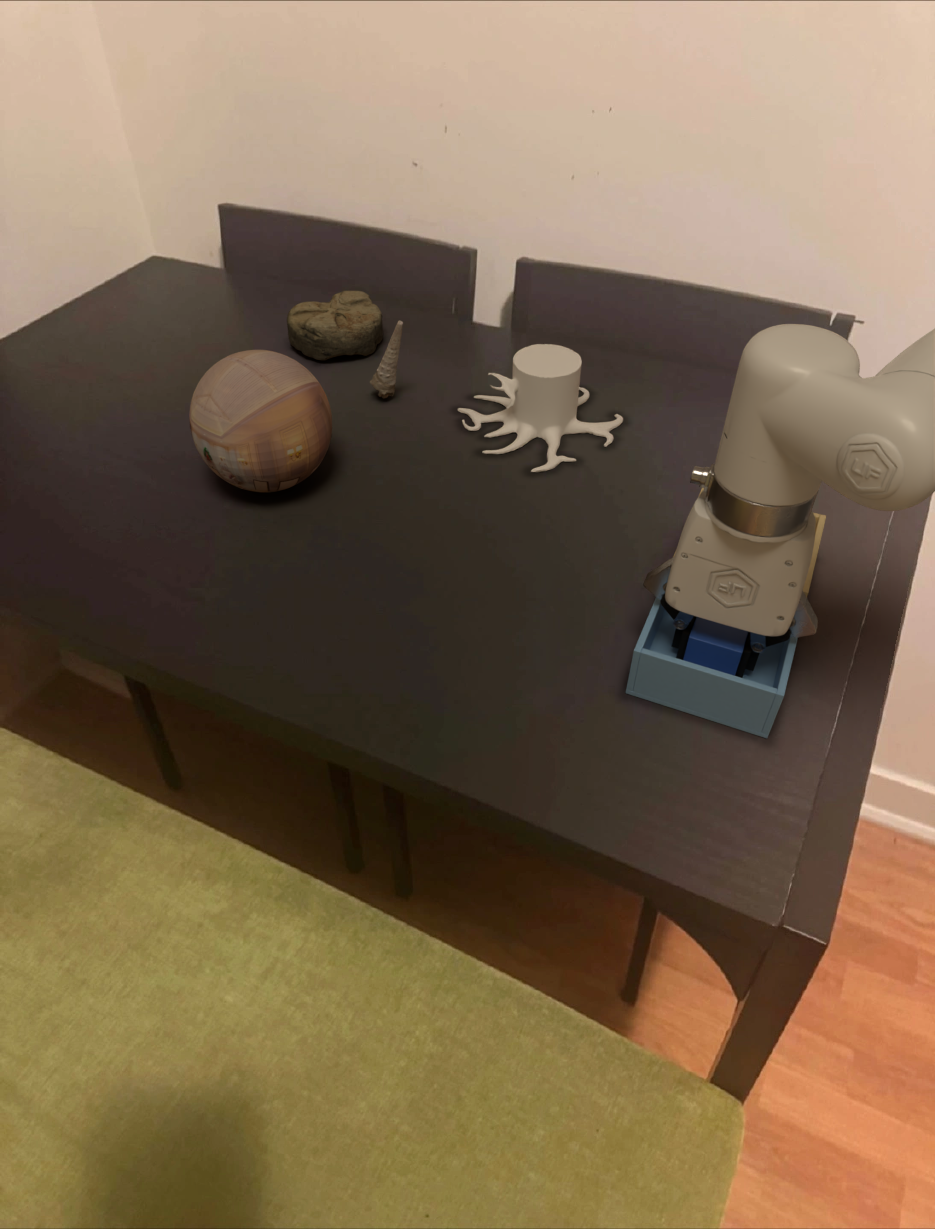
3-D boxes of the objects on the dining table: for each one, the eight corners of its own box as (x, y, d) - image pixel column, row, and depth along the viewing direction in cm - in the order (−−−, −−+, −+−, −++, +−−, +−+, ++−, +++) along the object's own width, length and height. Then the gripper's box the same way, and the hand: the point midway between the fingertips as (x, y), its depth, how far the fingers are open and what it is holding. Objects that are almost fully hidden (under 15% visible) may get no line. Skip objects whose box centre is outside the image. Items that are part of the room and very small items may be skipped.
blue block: (741, 653, 77) (752, 618, 74) (730, 688, 74) (742, 652, 71) (691, 638, 79) (701, 603, 75) (679, 672, 76) (689, 636, 72)
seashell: (376, 390, 112) (369, 308, 104) (413, 397, 110) (408, 314, 103) (366, 401, 110) (358, 318, 102) (403, 409, 108) (398, 325, 101)
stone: (278, 333, 123) (272, 298, 119) (364, 314, 127) (361, 279, 124) (307, 375, 115) (301, 338, 111) (398, 353, 119) (396, 316, 115)
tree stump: (445, 394, 111) (444, 335, 105) (583, 371, 115) (589, 314, 109) (495, 481, 97) (497, 418, 91) (650, 451, 101) (660, 390, 96)
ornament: (332, 436, 104) (317, 318, 93) (345, 510, 93) (330, 386, 83) (206, 450, 102) (176, 331, 91) (205, 528, 91) (171, 403, 81)
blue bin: (790, 642, 79) (807, 598, 75) (767, 738, 71) (784, 696, 67) (661, 605, 82) (670, 561, 79) (625, 693, 74) (633, 650, 71)
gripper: (635, 496, 63) (607, 661, 76) (874, 556, 59) (801, 722, 71) (661, 444, 68) (631, 608, 81) (884, 496, 63) (814, 661, 76)
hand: (711, 660), depth 76 cm, fingers closed on blue block, 4 cm apart
